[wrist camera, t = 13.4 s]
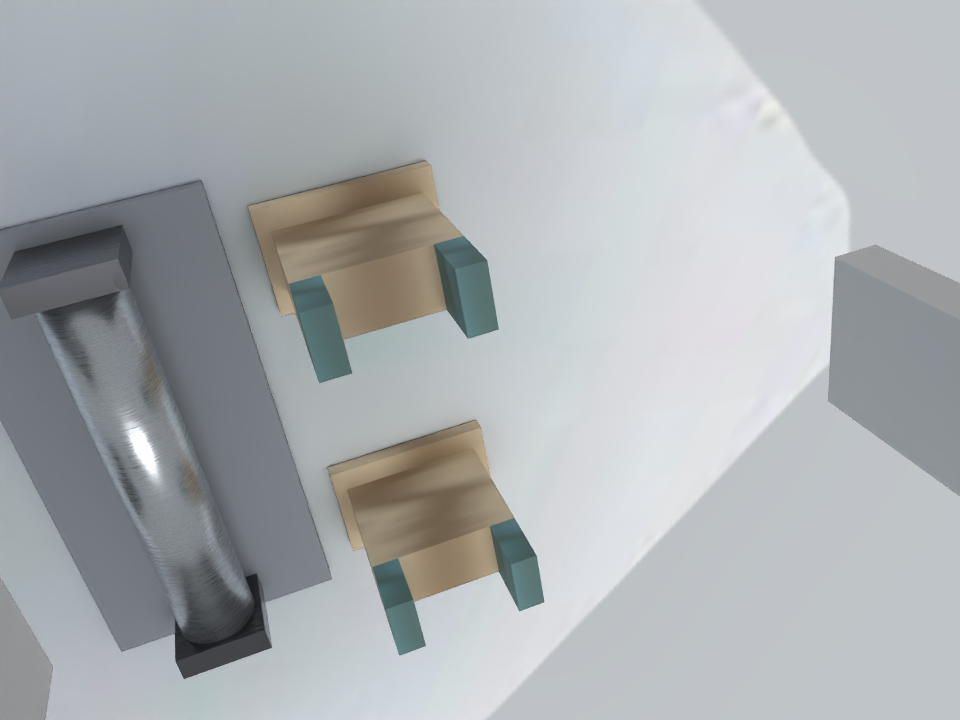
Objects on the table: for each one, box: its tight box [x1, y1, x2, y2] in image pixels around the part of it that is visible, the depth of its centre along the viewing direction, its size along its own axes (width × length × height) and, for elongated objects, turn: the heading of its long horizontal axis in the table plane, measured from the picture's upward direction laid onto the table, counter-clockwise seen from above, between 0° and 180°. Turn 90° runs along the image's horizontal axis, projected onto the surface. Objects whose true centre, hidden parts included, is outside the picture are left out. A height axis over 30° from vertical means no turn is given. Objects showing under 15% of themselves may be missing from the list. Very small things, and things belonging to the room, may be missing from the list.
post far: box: [328, 420, 544, 656], centre depth 42 cm, size 8×5×10 cm, turn 99°
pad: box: [0, 181, 332, 652], centre depth 40 cm, size 11×22×1 cm, turn 9°
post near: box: [248, 161, 499, 383], centre depth 35 cm, size 8×5×10 cm, turn 99°
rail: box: [0, 225, 272, 679], centre depth 38 cm, size 20×4×4 cm, turn 9°
